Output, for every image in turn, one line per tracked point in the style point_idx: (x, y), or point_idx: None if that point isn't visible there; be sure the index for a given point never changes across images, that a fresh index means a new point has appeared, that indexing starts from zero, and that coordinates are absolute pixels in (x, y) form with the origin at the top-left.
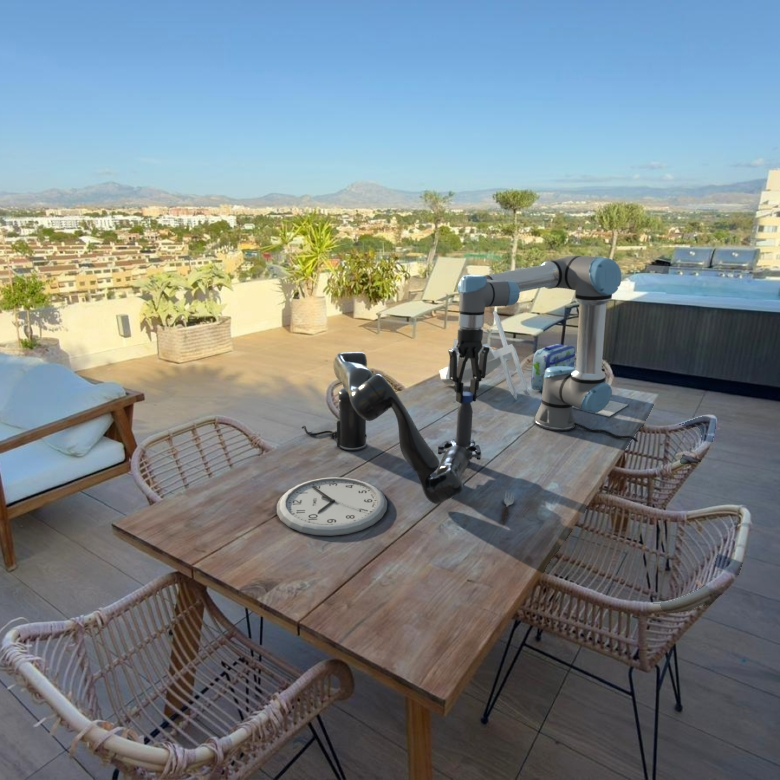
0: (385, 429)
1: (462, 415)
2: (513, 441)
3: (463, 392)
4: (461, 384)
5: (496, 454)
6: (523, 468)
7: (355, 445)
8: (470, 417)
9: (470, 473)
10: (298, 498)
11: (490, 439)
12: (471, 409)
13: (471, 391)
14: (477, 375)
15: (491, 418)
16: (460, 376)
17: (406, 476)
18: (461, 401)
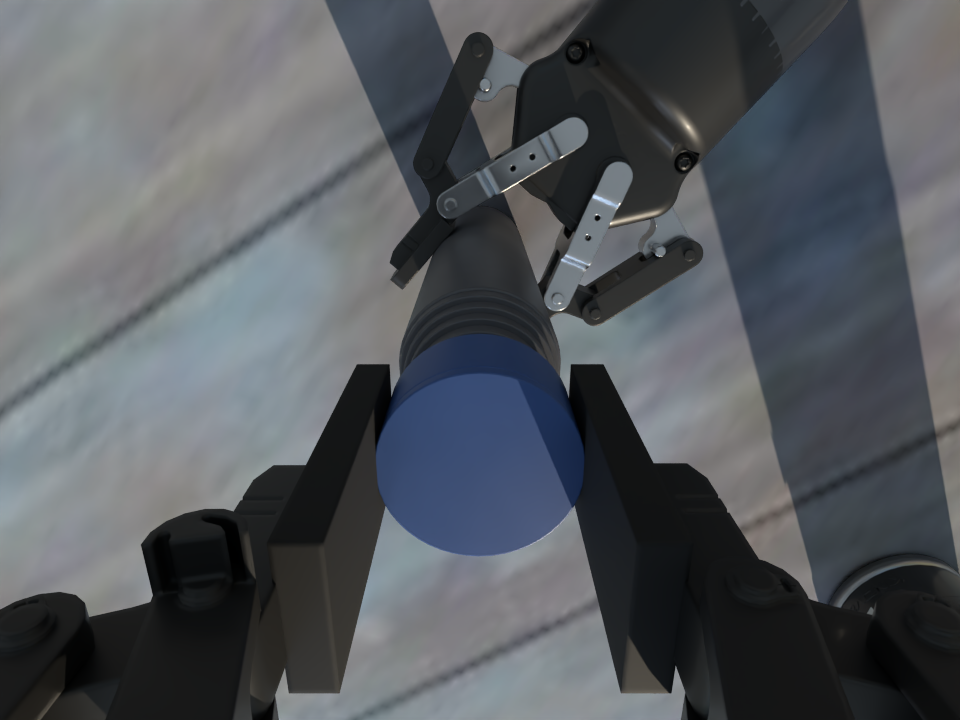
0: (639, 712)
1: (542, 309)
2: (43, 383)
3: (486, 530)
4: (681, 526)
5: (229, 264)
6: (154, 17)
7: (938, 574)
8: (457, 277)
9: (515, 88)
10: None
11: (169, 450)
12: (436, 317)
13: (374, 498)
14: (208, 669)
15: None
16: (799, 692)
17: (874, 198)
18: (589, 374)
